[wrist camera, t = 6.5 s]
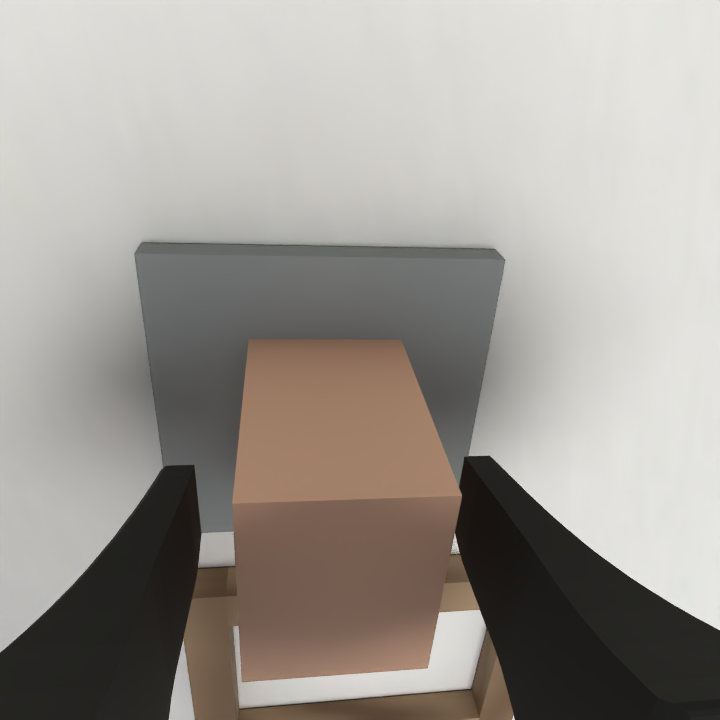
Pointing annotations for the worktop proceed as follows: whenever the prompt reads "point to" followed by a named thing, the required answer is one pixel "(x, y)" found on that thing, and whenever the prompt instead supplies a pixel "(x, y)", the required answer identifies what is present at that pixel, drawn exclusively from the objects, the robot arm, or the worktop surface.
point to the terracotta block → (338, 511)
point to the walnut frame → (363, 716)
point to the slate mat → (304, 335)
